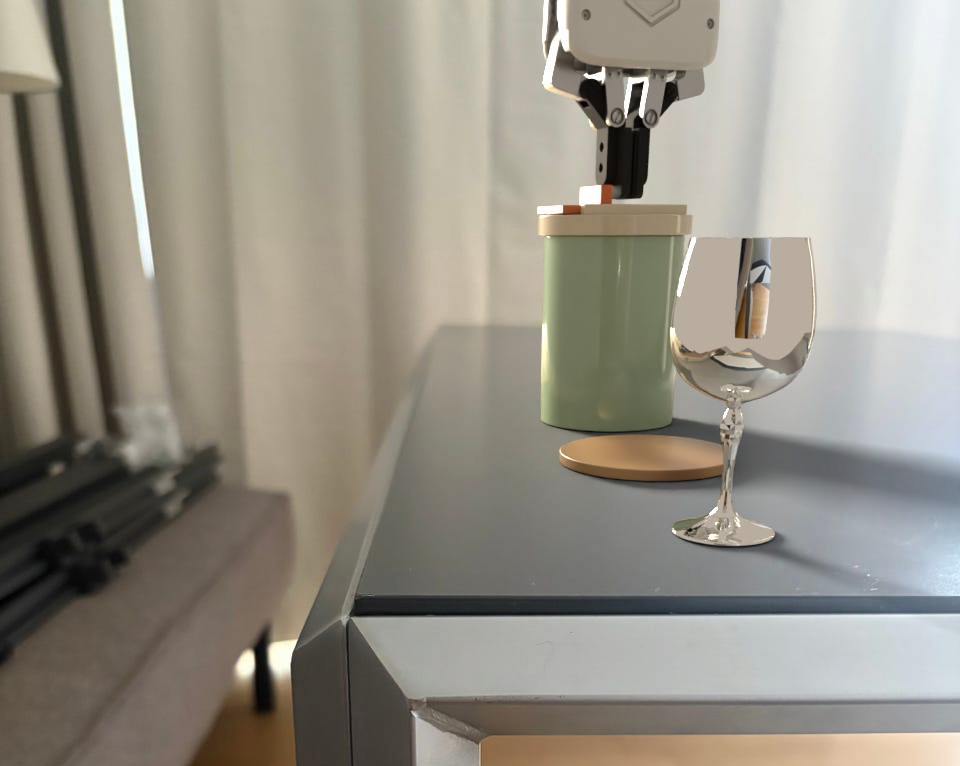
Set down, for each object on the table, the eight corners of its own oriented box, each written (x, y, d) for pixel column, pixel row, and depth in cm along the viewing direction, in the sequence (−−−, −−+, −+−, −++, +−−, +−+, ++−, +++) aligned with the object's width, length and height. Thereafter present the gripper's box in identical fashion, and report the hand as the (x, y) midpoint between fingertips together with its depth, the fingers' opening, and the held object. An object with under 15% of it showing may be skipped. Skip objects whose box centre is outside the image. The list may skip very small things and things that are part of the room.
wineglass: (629, 531, 44) (646, 237, 39) (703, 507, 47) (727, 237, 43) (744, 559, 40) (777, 238, 35) (815, 531, 44) (853, 237, 39)
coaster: (677, 439, 63) (678, 430, 63) (771, 472, 54) (773, 461, 54) (532, 451, 60) (532, 441, 60) (608, 488, 51) (608, 476, 51)
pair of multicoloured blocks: (586, 214, 66) (587, 186, 65) (614, 214, 63) (616, 184, 62) (537, 214, 65) (537, 186, 64) (562, 213, 61) (563, 183, 61)
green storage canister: (634, 404, 76) (645, 207, 70) (706, 427, 67) (724, 203, 62) (513, 412, 72) (515, 206, 67) (571, 437, 64) (579, 202, 59)
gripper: (543, -189, 52) (537, 196, 59) (784, -155, 57) (752, 198, 64) (492, -142, 58) (492, 200, 65) (712, -115, 63) (690, 201, 70)
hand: (620, 198), depth 64 cm, fingers closed
